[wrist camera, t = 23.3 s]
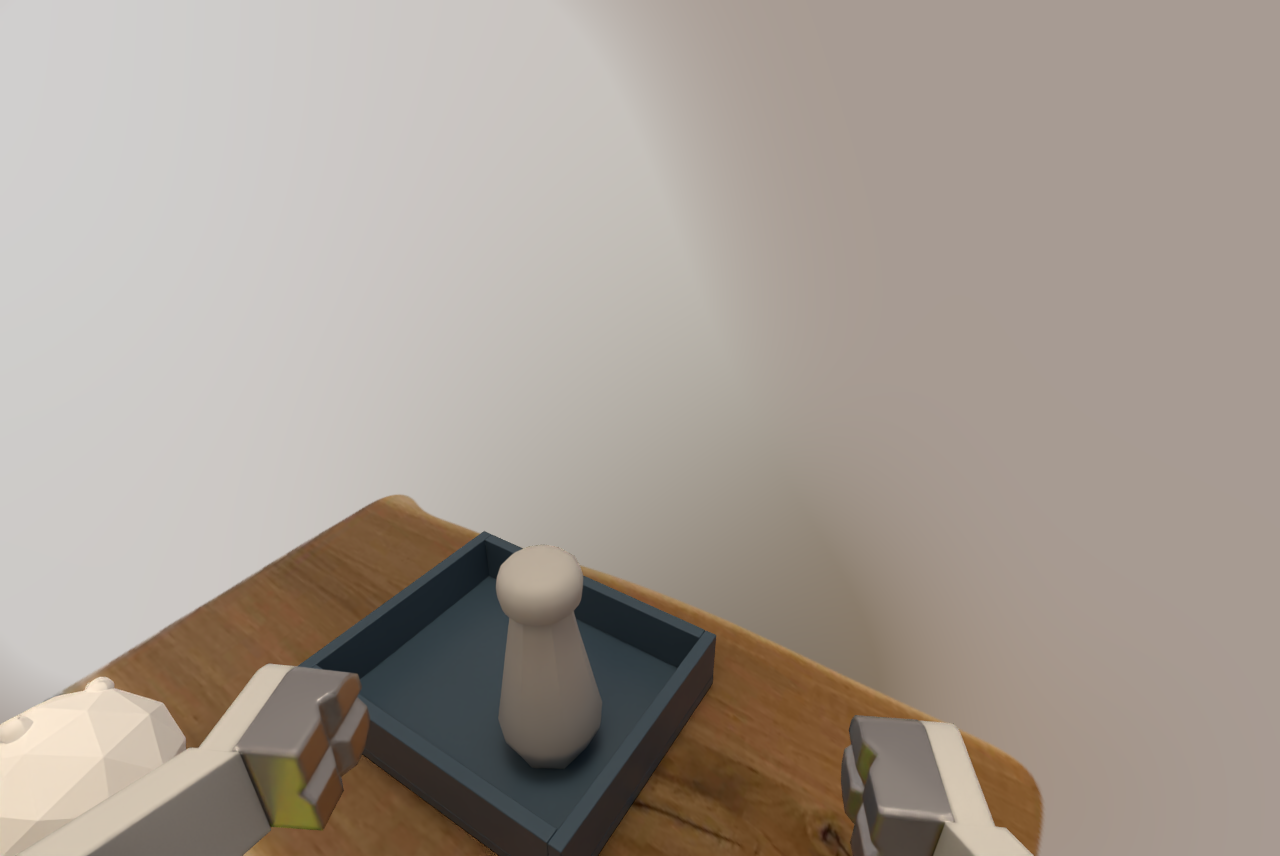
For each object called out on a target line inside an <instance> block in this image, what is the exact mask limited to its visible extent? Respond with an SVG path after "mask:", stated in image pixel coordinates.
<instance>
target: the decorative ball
mask: <svg viewBox="0 0 1280 856" xmlns="http://www.w3.org/2000/svg"><path fill="white" fill-rule="evenodd" d="M88 684H89V683H88ZM88 684H87V686H86V687H85V688H86V689H85V691H80V692H75V693H70V694H65V695H60V696H55V697H53V698H51V699H49V700H47V701H45V702H43V703H41V704H39V705H36V706H34V707H32V708H30V709H28V710H27V711H25V712H23V713H21V714H19V715H17V716H15V717H13V718H11V719H10V720H8V721H6V722H4V723H2V724H0V856H15V855H17V854H18V853H20V852H21V851H23V850H25V849H26V848H28V847H29V846H31V845H33V844H34V843H36V842H38V841H39V840H41V839H42V838H44V837H46V836H47V835H49V834H51V833H52V832H54V831H55V830H57V829H59V828H60V827H62V826H63V825H65V824H67V823H68V822H70V821H72V820H73V819H75V818H76V817H78V816H80V815H81V814H83V813H85V812H86V811H88V810H89V809H91V808H93V807H94V806H96V805H97V804H99V803H101V802H102V801H104V800H106V799H107V798H109V797H110V796H112V795H114V794H115V793H117V792H119V791H120V790H122V789H123V788H125V787H127V786H128V785H130V784H131V783H133V782H135V781H136V780H138V779H140V778H141V777H143V776H144V775H146V774H148V773H149V772H151V771H153V770H154V769H156V768H157V767H159V766H161V765H162V764H164V763H165V762H167V761H169V760H170V759H172V758H174V757H175V756H177V755H178V754H180V753H182V752H183V751H185V750H186V738H185V736H184V735H183V733H182V732H181V730H180V728H179V727H178V725H177V724H176V722H175V721H174V719H173V717H172V716H171V714H170V713H169V711H168V710H167V708H166V707H165V705H164V703H162V702H158V701H155V700H152V699H148V698H145V697H142V696H139V695H135V694H132V693H129V692H126V691H122V690H119V689H116V688H114V682H113V681H112V680H110V679H109V678H107V677H99V678H96V679H95V680H93V681H92V682H91V683H90V684H89V685H88Z"/></svg>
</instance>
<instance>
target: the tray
mask: <svg viewBox="0 0 1280 856" xmlns="http://www.w3.org/2000/svg"><path fill="white" fill-rule="evenodd" d="M521 549H523V548H521V547H518V546H516V545H514V544H512V543H509V542H507V541H505V540H503V539H501V538H498V537H496V536H494V535H491V534H489V533H487V532H482V533H481V534H479V535H478V536H477V537H475V538H474V539H473V540H471V541H470V542H468V543H467V544H466V545H464V546H463V547H462V548H460V549H459V550H457V551H456V552H455V553H453V554H452V555H450V556H449V557H448V558H446V559H445V560H444V561H442V562H441V563H439V564H438V565H437V566H435V567H434V568H433V569H431V570H430V571H428V572H427V573H426V574H424V575H423V576H422V577H420V578H419V579H417V580H416V581H415V582H413V583H412V584H410V585H409V586H408V587H406V588H405V589H404V590H402V591H401V592H399V593H398V594H397V595H395V596H394V597H393V598H391V599H390V600H388V601H387V602H386V603H384V604H383V605H381V606H380V607H379V608H377V609H376V610H375V611H373V612H372V613H370V614H369V615H368V616H366V617H365V618H364V619H362V620H361V621H359V622H358V623H357V624H355V625H354V626H352V627H351V628H350V629H348V630H347V631H346V632H344V633H343V634H341V635H340V636H339V637H337V638H336V639H335V640H333V641H332V642H330V643H329V644H328V645H326V646H325V647H324V648H322V649H321V650H319V651H318V652H317V653H315V654H314V655H312V656H311V657H310V658H308V659H307V660H306V661H304V662H303V663H301V664H300V665H299V666H297V667H306V668H315V669H323V670H332V671H340V672H349V673H356V674H358V676H359V679H360V682H361V685H362V689H361V691H360V692H359V694H358V696H357V697H358V698H359V699H360V700H361V701H362V702H363V703H364V704H365V705H367V707H368V711H369V715H370V730H369V734H368V738H367V742H366V746H365V749H364V751H363V753H362V754H363V755H364V756H366V757H367V758H368V759H370V760H371V761H373V762H374V763H375V764H377V765H378V766H379V767H381V768H382V769H383V770H385V771H386V772H387V773H389V774H390V775H391V776H393V777H394V778H395V779H397V780H398V781H400V782H401V783H402V784H404V785H405V786H406V787H408V788H409V789H410V790H412V791H413V792H414V793H416V794H417V795H418V796H420V797H421V798H422V799H424V800H425V801H426V802H428V803H429V804H431V805H432V806H433V807H435V808H436V809H437V810H439V811H440V812H441V813H443V814H444V815H445V816H447V817H448V818H449V819H451V820H452V821H453V822H455V823H456V824H457V825H459V826H460V827H462V828H463V829H464V830H466V831H467V832H468V833H470V834H471V835H472V836H474V837H475V838H476V839H478V840H479V841H480V842H482V843H483V844H484V845H486V846H487V847H488V848H490V849H491V850H493V851H494V852H495V853H497V854H498V855H499V856H598V854H599V853H600V851H601V850H602V848H603V847H604V845H605V844H606V842H607V841H608V839H609V838H610V836H611V835H612V833H613V832H614V830H615V829H616V827H617V826H618V824H619V823H620V821H621V820H622V818H623V817H624V815H625V814H626V812H627V811H628V809H629V808H630V806H631V805H632V803H633V802H634V800H635V799H636V797H637V796H638V794H639V793H640V791H641V790H642V788H643V787H644V785H645V784H646V782H647V781H648V779H649V778H650V776H651V775H652V773H653V772H654V770H655V769H656V767H657V766H658V764H659V763H660V761H661V760H662V758H663V757H664V755H665V754H666V752H667V751H668V749H669V748H670V746H671V745H672V743H673V742H674V740H675V739H676V737H677V736H678V734H679V733H680V731H681V730H682V728H683V727H684V725H685V724H686V722H687V721H688V719H689V718H690V716H691V715H692V713H693V712H694V710H695V709H696V707H697V706H698V704H699V703H700V701H701V700H702V698H703V697H704V695H705V694H706V692H707V691H708V689H709V688H710V686H711V685H712V682H713V668H714V656H715V644H716V635H715V634H712V633H710V632H708V631H705V630H704V629H701V628H699V627H697V626H695V625H693V624H690V623H688V622H686V621H684V620H681V619H679V618H677V617H675V616H672V615H670V614H668V613H666V612H663V611H661V610H659V609H657V608H655V607H652V606H650V605H648V604H646V603H643V602H641V601H639V600H637V599H634V598H632V597H630V596H628V595H626V594H623V593H621V592H619V591H617V590H614V589H612V588H610V587H608V586H605V585H603V584H601V583H599V582H597V581H594V580H592V579H590V578H588V577H585V576H583V589H582V597H581V601H580V603H579V605H578V606H577V607H576V609H575V610H574V614H575V618H576V621H577V625H578V628H579V631H580V634H581V638H582V641H583V644H584V647H585V650H586V653H587V656H588V659H589V663H590V666H591V669H592V672H593V675H594V678H595V681H596V684H597V687H598V691H599V694H600V697H601V700H602V712H601V723H600V728H599V729H598V731H597V732H596V734H595V735H594V737H593V738H592V740H591V741H590V743H589V745H588V746H587V747H586V748H585V749H584V750H583V751H582V752H581V753H580V754H579V755H578V756H577V757H576V758H575V759H574V760H573V761H572V762H571V763H570V764H569V765H568V766H567V767H566V768H565V769H555V768H532V767H531V766H530V765H529V764H528V763H527V762H526V761H525V760H524V759H523V758H522V757H521V756H520V755H519V754H518V753H517V752H516V751H515V750H513V749H512V748H511V747H510V746H509V745H508V744H507V743H506V741H505V738H504V735H503V732H502V729H501V726H500V723H499V720H498V716H499V707H500V698H501V689H502V680H503V670H504V661H505V652H506V643H507V634H508V625H509V617H508V616H507V615H505V613H504V612H503V610H502V608H501V605H500V603H499V600H498V597H497V592H496V580H497V575H498V572H499V569H500V566H501V565H502V564H503V563H504V562H505V561H506V560H507V559H508V558H509V557H510V556H511V555H512V554H514V553H515V552H517V551H519V550H521Z"/></svg>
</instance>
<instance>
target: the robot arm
mask: <svg viewBox="0 0 1280 856" xmlns="http://www.w3.org/2000/svg"><path fill="white" fill-rule="evenodd" d="M361 689H362V685H361V682H360V679H359V676H358V674H356V673H349V672H340V671H332V670H323V669H315V668H306V667H297V666H287V665H276V664H267V665H265V666H264V667H262V668H261V669H259V670H258V671H257V672H256V673H255V674H254V676H253V677H252V678H251V680H250V681H249V682H248V684H247V685H246V686H245V688H244V689H243V690H242V692H241V693H240V694H239V695H238V697H237V698H236V699H235V701H234V702H233V703H232V705H231V706H230V707H229V709H228V710H227V711H226V713H225V714H224V715H223V716H222V718H221V719H220V720H219V722H218V723H217V724H216V726H215V727H214V728H213V730H212V731H211V732H210V734H209V735H208V736H207V737H206V739H205V740H204V741H203V743H202V744H201V745H200V747H199V748H188V749H187V750H185V751H183V752H182V753H180V754H178V755H177V756H175V757H174V758H172V759H170V760H169V761H167V762H165V763H164V764H162V765H161V766H159V767H157V768H156V769H154V770H153V771H151V772H149V773H148V774H146V775H144V776H143V777H141V778H140V779H138V780H136V781H135V782H133V783H131V784H130V785H128V786H127V787H125V788H123V789H122V790H120V791H119V792H117V793H115V794H114V795H112V796H110V797H109V798H107V799H106V800H104V801H102V802H101V803H99V804H97V805H96V806H94V807H93V808H91V809H89V810H88V811H86V812H85V813H83V814H81V815H80V816H78V817H76V818H75V819H73V820H72V821H70V822H68V823H67V824H65V825H63V826H62V827H60V828H59V829H57V830H55V831H54V832H52V833H51V834H49V835H47V836H46V837H44V838H42V839H41V840H39V841H38V842H36V843H34V844H33V845H31V846H29V847H28V848H26V849H25V850H23V851H21V852H20V853H18V854H17V855H15V856H243V855H244V854H245V853H246V852H247V851H248V850H249V849H250V848H252V847H253V846H254V845H255V844H256V843H257V842H258V841H259V840H261V839H262V838H263V837H264V836H265V835H266V834H267V833H268V832H270V831H271V827H283V828H296V829H310V830H323V829H324V828H325V826H326V824H327V822H328V820H329V818H330V816H331V814H332V812H333V810H334V808H335V806H336V804H337V802H338V801H339V799H340V797H341V795H342V793H343V791H344V790H343V785H342V779H341V776H343V775H344V774H345V773H347V772H348V771H349V770H351V769H352V768H353V767H355V766H356V765H357V763H358V761H359V759H360V757H361V755H362V753H363V751H364V749H365V746H366V742H367V738H368V734H369V730H370V715H369V711H368V707H367V705H365V704H364V703H363V702H362V701H361V700H360V699H359V698H358V697H357V696H358V694H359V692H360V691H361ZM849 734H850V739H851V745H850V746H849V747H847V748H846V749H844V754H843V760H842V770H841V786H842V797H843V803H844V809H845V813H846V815H847V816H848V817H849V818H850V819H851V821H852V822H853V823H854V824H855V825H854V829H853V833H852V837H851V841H850V844H851V849H852V855H853V856H1033V855H1032V854H1031V853H1030V852H1029V851H1028V850H1027V849H1026V848H1025V847H1024V846H1023V845H1022V844H1021V843H1020V842H1019V841H1018V840H1017V839H1016V838H1015V837H1014V836H1013V835H1012V834H1011V833H1010V832H1009V831H1008V830H1007V829H1006V828H1002V827H995V824H994V822H993V819H992V816H991V814H990V811H989V808H988V806H987V803H986V800H985V798H984V795H983V792H982V790H981V787H980V784H979V782H978V779H977V776H976V774H975V771H974V768H973V766H972V763H971V760H970V758H969V755H968V752H967V750H966V747H965V744H964V742H963V739H962V736H961V734H960V731H959V729H958V728H957V727H956V726H955V725H954V724H952V723H940V722H929V721H918V720H913V719H899V718H886V717H872V716H858V715H855V716H854V717H853V719H852V720H851V724H850V728H849Z"/></svg>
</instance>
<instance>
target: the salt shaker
mask: <svg viewBox="0 0 1280 856" xmlns="http://www.w3.org/2000/svg"><path fill="white" fill-rule="evenodd" d="M582 589H583V574H582V571H581V567H580V565H579V563H578V562H577V560H576V558H575V556H573V555H572V554H570V553H568V552H566V551H565V550H563V549H561V548H559V547H555V546H549V545H536V546H529V547H526V548H524V549H521V550H519V551H517V552H515V553H514V554H512V555H511V556H510V557H509V558H508V559H507V560H506V561H505V562H504V563H503V564H502V565H501V566H500V569H499V572H498V575H497V580H496V592H497V597H498V600H499V603H500V605H501V608H502V610H503V612H504V613H505V615H507V616H508V617H509V625H508V634H507V643H506V652H505V661H504V670H503V680H502V689H501V698H500V707H499V716H498V720H499V723H500V726H501V729H502V732H503V735H504V738H505V741H506V743H507V744H508V745H509V746H510V747H511V748H512V749H513V750H515V751H516V752H517V753H518V754H519V755H520V756H521V757H522V758H523V759H524V760H525V761H526V762H527V763H528V764H529V765H530V766H531V767H532V768H555V769H565V768H566V767H567V766H568V765H569V764H570V763H571V762H572V761H573V760H574V759H575V758H576V757H577V756H578V755H579V754H580V753H581V752H582V751H583V750H584V749H585V748H586V747H587V746H588V745H589V743H590V741H591V740H592V738H593V737H594V735H595V734H596V732H597V731H598V729H599V728H600V723H601V712H602V700H601V697H600V694H599V691H598V687H597V684H596V681H595V678H594V675H593V672H592V669H591V666H590V663H589V659H588V656H587V653H586V650H585V647H584V644H583V641H582V638H581V634H580V631H579V628H578V625H577V621H576V618H575V614H574V610H575V609H576V607H577V606H578V605H579V603H580V601H581V597H582Z"/></svg>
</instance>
